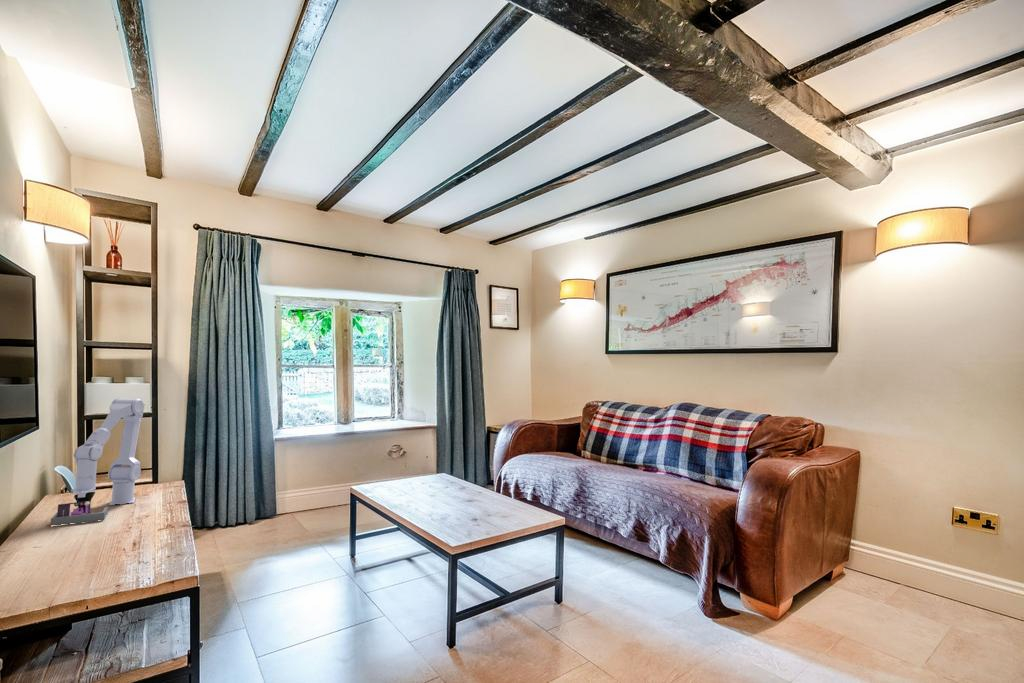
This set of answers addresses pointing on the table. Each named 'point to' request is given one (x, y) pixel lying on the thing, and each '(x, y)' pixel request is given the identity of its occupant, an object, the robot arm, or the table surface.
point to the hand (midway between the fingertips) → (83, 512)
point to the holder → (79, 518)
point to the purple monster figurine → (65, 509)
